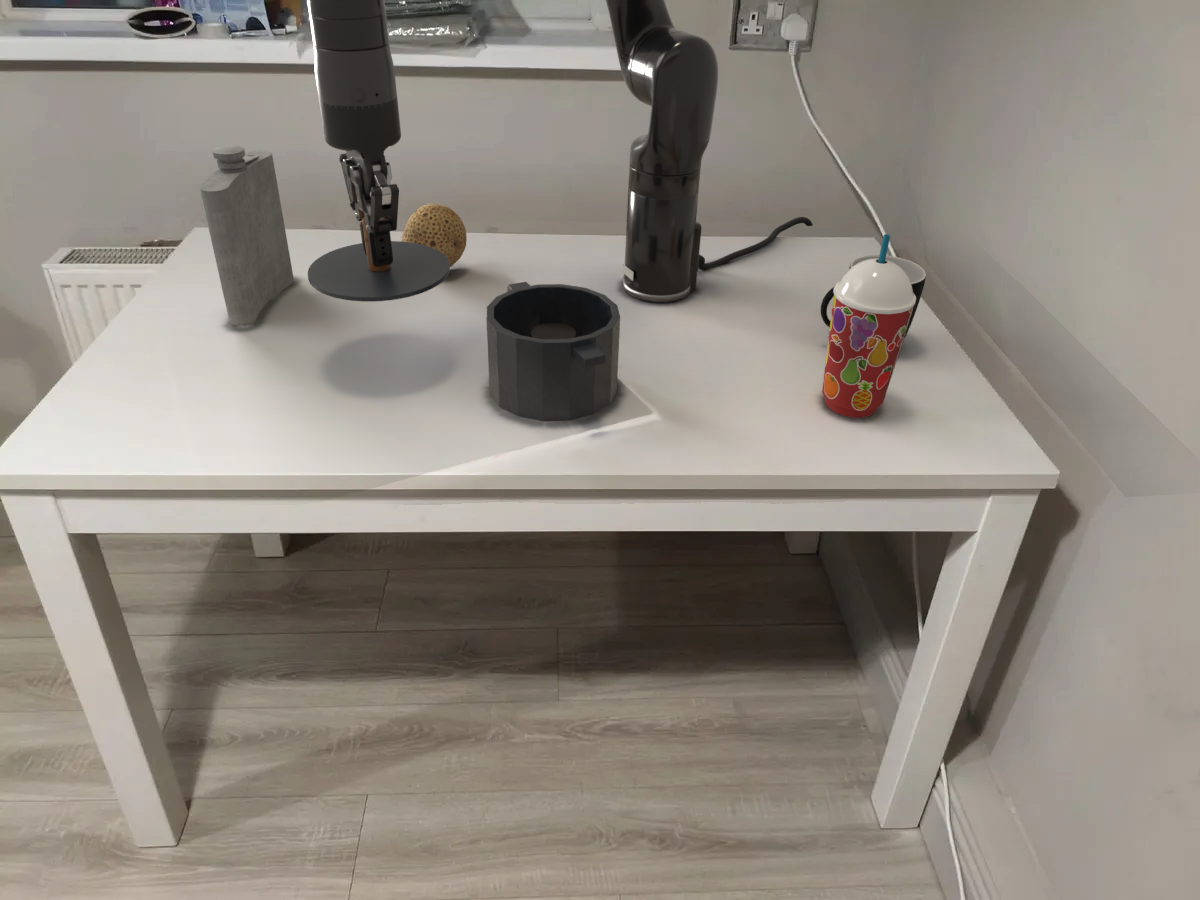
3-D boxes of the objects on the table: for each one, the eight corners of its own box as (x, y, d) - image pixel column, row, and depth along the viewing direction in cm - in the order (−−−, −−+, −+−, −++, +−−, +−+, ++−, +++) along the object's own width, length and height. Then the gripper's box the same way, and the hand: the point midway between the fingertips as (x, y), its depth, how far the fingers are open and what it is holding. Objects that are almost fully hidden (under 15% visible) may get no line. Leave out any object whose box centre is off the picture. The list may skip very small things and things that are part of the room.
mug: (891, 326, 120) (908, 253, 114) (919, 359, 112) (939, 283, 107) (803, 329, 118) (815, 256, 113) (826, 363, 111) (841, 286, 105)
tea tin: (563, 373, 106) (564, 319, 102) (583, 393, 103) (584, 338, 99) (524, 382, 104) (523, 327, 100) (542, 403, 101) (542, 347, 97)
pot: (570, 342, 114) (571, 267, 108) (650, 419, 99) (656, 337, 94) (463, 365, 108) (458, 287, 102) (531, 450, 94) (530, 365, 88)
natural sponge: (472, 285, 127) (468, 215, 121) (407, 290, 125) (400, 219, 119) (465, 260, 134) (461, 193, 128) (403, 264, 132) (396, 196, 126)
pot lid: (424, 241, 109) (418, 187, 105) (470, 290, 98) (466, 231, 94) (294, 263, 103) (284, 206, 99) (329, 318, 92) (319, 256, 88)
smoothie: (891, 394, 105) (931, 227, 94) (885, 431, 99) (928, 256, 87) (818, 381, 107) (849, 216, 96) (808, 416, 101) (840, 243, 90)
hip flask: (250, 330, 114) (217, 170, 102) (219, 328, 114) (182, 167, 103) (297, 278, 127) (272, 131, 115) (269, 276, 127) (241, 129, 116)
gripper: (417, 106, 86) (432, 277, 96) (374, 74, 96) (392, 232, 106) (338, 114, 83) (362, 290, 93) (302, 81, 93) (327, 242, 103)
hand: (378, 258), depth 99 cm, fingers closed on pot lid, 2 cm apart
